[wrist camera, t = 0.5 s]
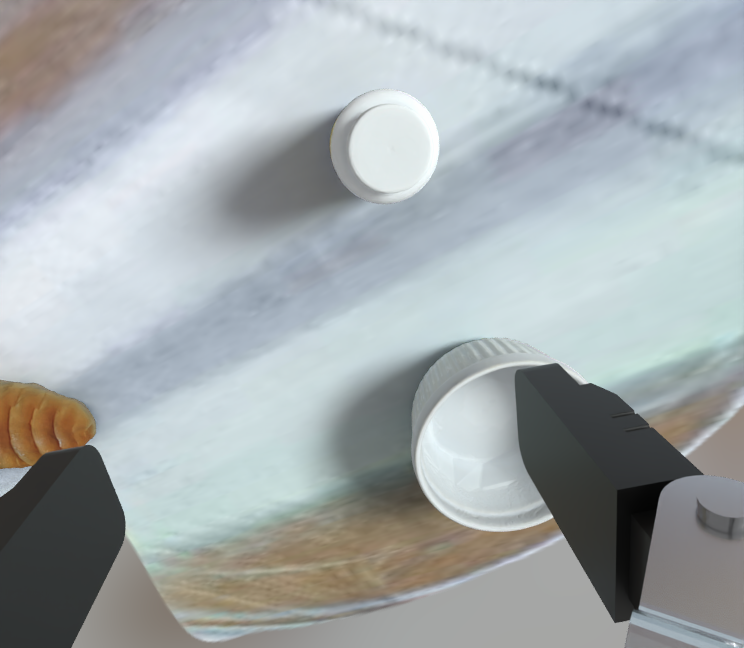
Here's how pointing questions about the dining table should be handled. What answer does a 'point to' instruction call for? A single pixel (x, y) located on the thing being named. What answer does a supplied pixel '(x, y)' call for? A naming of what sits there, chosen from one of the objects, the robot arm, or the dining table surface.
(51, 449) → the pastry
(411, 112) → the supplement bottle
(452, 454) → the ramekin
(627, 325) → the dining table surface
